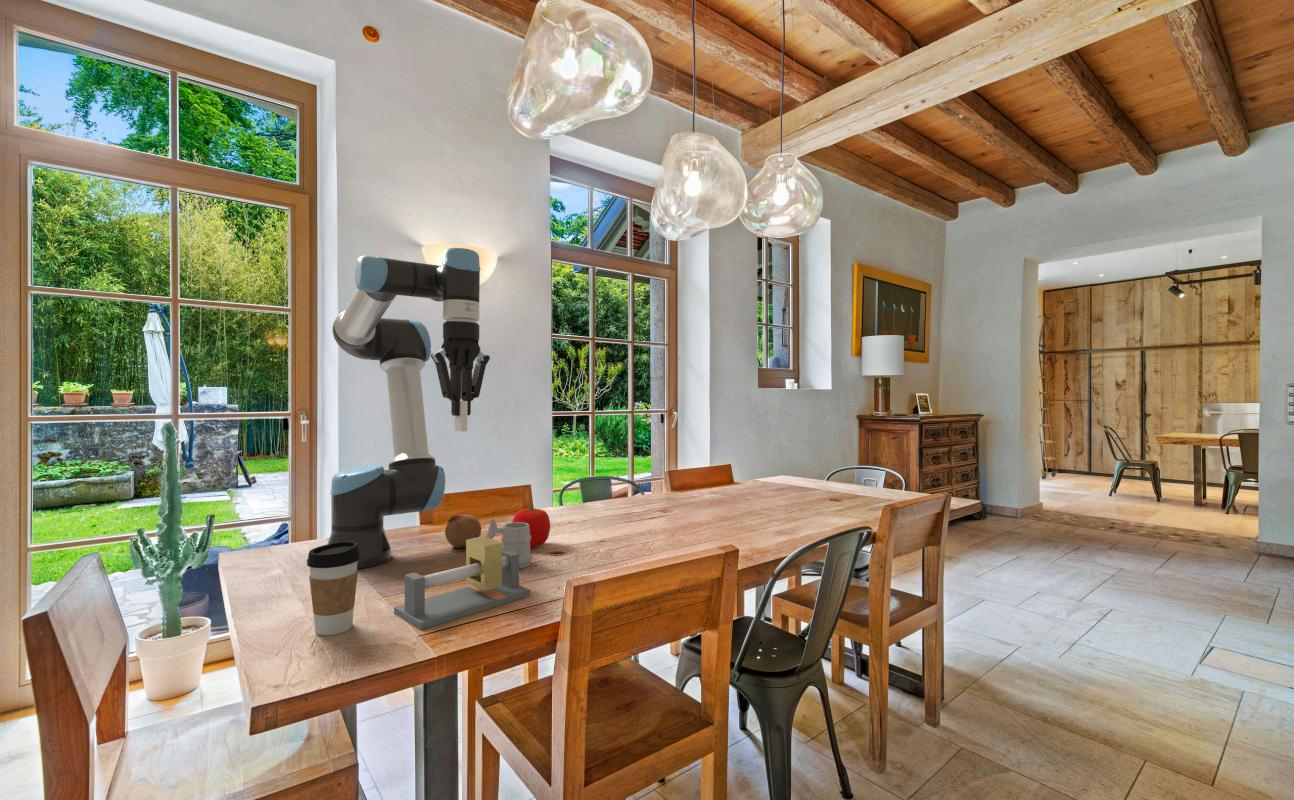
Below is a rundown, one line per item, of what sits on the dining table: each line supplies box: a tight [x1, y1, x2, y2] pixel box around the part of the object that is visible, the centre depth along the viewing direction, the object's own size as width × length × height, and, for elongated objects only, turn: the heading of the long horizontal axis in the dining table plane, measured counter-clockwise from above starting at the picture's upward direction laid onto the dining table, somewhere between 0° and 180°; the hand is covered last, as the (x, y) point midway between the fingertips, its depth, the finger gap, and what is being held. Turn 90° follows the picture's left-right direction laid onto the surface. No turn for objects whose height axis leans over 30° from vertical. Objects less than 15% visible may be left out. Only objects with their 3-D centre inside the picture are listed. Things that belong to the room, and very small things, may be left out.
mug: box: [485, 518, 533, 569], centre depth 140 cm, size 8×12×12 cm, turn 114°
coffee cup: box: [306, 541, 360, 637], centre depth 103 cm, size 8×8×15 cm
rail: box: [393, 550, 532, 631], centre depth 115 cm, size 11×24×8 cm, turn 137°
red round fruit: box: [511, 507, 551, 549], centre depth 157 cm, size 10×11×11 cm
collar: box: [465, 535, 503, 591], centre depth 118 cm, size 7×4×9 cm, turn 47°
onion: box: [444, 514, 482, 549], centre depth 156 cm, size 10×9×10 cm
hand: (461, 430), depth 124 cm, fingers closed
